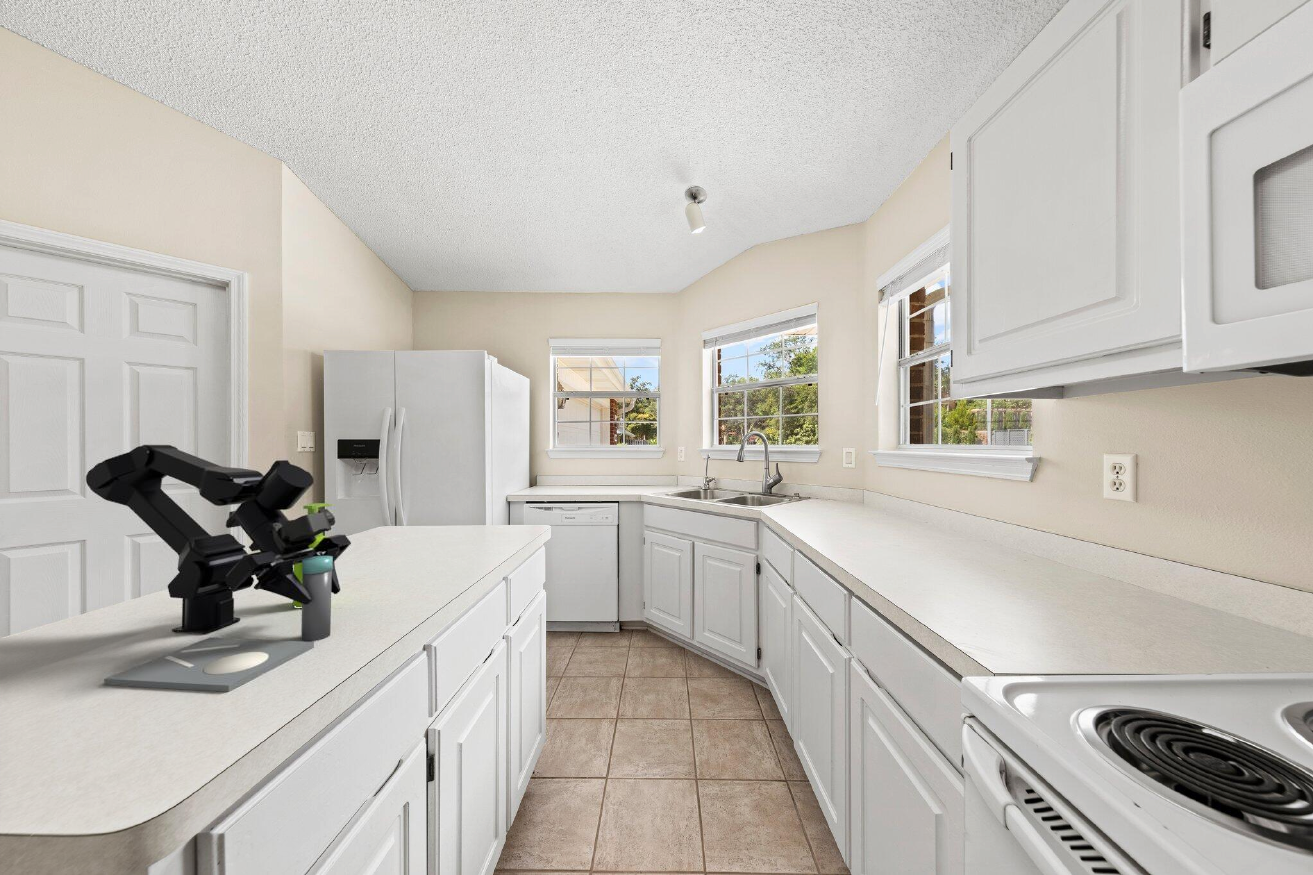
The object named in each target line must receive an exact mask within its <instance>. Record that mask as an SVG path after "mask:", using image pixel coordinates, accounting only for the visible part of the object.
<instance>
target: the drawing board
mask: <svg viewBox="0 0 1313 875" xmlns="http://www.w3.org/2000/svg"><path fill="white" fill-rule="evenodd" d="M313 648H315V641H309V642H306V641H299V640H298V641H296V640H276V639H275V640H274V639H273V640H272V639H252V638H251V639H250V638H234V637H233V638H229V637H211V636H210V637H207V638H205V639H202V640H199V641H197V642H195V643H192V644H189V645H186V646H184V647H182V648H179V649H177V650H174V651H170V652H169V653H166V654H164V655H161V656H158V657H157V658H154V659H151V660H148V661H146V662H143V663H140V664H138V665H136V666H133V667H131V668H128V669H125V670H123V671H120V672H118V673H115V674H113V675H110V676H107V677H105V678H103V685H104V686H120V687H136V688H137V687H139V688H140V687H141V688H154V689H155V688H156V689H157V688H158V689H169V690H170V689H173V690H175V689H176V690H188V691H189V690H191V691H209V692H226V693H228V692H231V691H233V690H235V689H237V688H239V687H240V686H243V685H245V684H246V683H249V682H250V681H252V680H254V679H256V678H258V677H259V676H262V675H263V674H266V673H267V672H270V671H271V670H273V669H275V668H277V667H279V666H281V665H283V664H285V663H287V662H288V661H291V660H293V659H294V658H297V657H298V656H300V655H302V654H304V653H306V652H308V651H309V650H312V649H313Z"/></svg>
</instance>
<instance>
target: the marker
mask: <svg viewBox="0 0 1313 875" xmlns="http://www.w3.org/2000/svg"><path fill="white" fill-rule="evenodd" d="M332 566H333V557H332V556H315V557H309V558H305V559H303V560H302V573H303V577H302V585H303V586H304V588H305V589H306V590H307V592H308V594H309V595H310V597H311V599H312V601H311V602H310V603H309V604H307V605H305V604H302V609H301V627H300V628H301V630H300V633H301V636H300V639H301V642H317V641H321V640H324V639H327V638H329V637H330V636H331V629H332V627H331V623H332V621H331V618H332V592H331V580H332ZM316 640H317V641H316Z"/></svg>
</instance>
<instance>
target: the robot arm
mask: <svg viewBox="0 0 1313 875" xmlns="http://www.w3.org/2000/svg"><path fill="white" fill-rule="evenodd" d="M167 476H168V477H170V478H173V479H175V480H177V481H180V482H182V483H185V484H188V485H190V486H192V487H195V488H196V489H197V490H198V492H199V496H201V498H202V499H203V498H204V500H206V501H208V502H209V503H210V504H212V505H214V506H217V507H222V506H230V505H231V506H233V505H239V506H237V508H236V509H235V510H233V511H229V513H228V517H227V520H226V522H225V528H227V529H229V528H236V527H240V528H241V529H242V530H243V531H244V533H245V535H247V537H248V538H249V539H250V540H251V541H252V543H251V544H250V545H249V546H248V548H249V549H250V551H251V553H248V552H247V551H246V550H245V548H246V544H245V545H244V544H242V543H240V542H239V541H238V540H237V539H236V538H235V536H234V535H233V534H231V533H225V534H224V533H223V534H217V535H211V534H210V533H208V532H207V531H206V529H204V528H203V527H202V526H201V525H200V524H199V523H198V522H197V520H194V519H193V518H192V516H190V515H189V514H188V513H187V512H186V511H185V510H184V509H183V508H182V507H181V506H180V505H179V504H178V503H176V502H175V501H174V500H173V499H172V498H171V497H170V496H169V495H168V494H167V493H165V491H164V490H163V489H162V483H163V479H164V478H165V477H167ZM85 483H86V485H87V486H88V487H89V489H90V490H91V491H92V492H93V493H94V494H96V495H97V496H98V497H101V499H103V500H105V501H107V502H112V503H114V504H117V505H118V504H119V505H122V506H125V507H127V508H129V509H130V510H131V511H132V512H133V513H134V514H135V515H136V516H138V517H139V519H141V520H142V521H143V523H144V524H146V525H147V526H148V527H149V528H150V529H151V530H152V531H153V532H154V533H156V535H157V536H158V537H159V538H161V540H163V542H164V543H166V544H167V545H168V546H169V547H170V548H171V549H172V550H173V551H174V552H175V553H176V554H177V555H178V562H177V571H178V573H177V574H176V576H174V577H173V579H172V580H171V581H170V582H169V584H167V590H168V591H167V592H168V594H169V597H170V598H173V599H175V598H176V599H182V604H181V605H182V606H181V610H182V611H181V625H180V626H177V627H174V628H173V629H171V632H172V633H179V634H180V633H183V634H184V633H185V634H186V633H187V634H204V635H205V634H209V633H210V632H213V631H217V630H218V629H222V628H224V627H227V626H229V625H233V624H235V623H237V622H240V621H241V617H238V616H237V617H234V616H235V615H234V614H235V598H234V597H233V594H234V593H235V592H239V591H241V590H246V589H249V588H251V587H252V586H253V584H254V583H255V579H254V577H253V576H255V577H256V580H257V583H256V584H254V586H253V589H254V590H262V591H266V592H269V593H271V594H276V595H279V596H281V597H285V598H287V599H290V600H292V601H293V600H294V601H297V602H300V603H302V604H305V605H307V604H309V603H310V602H311V601H312V599H311V597H310V595H309V594H308V592H307V590H306V589H305V588H304V586H303V585H302V584H301V582H300V581H299V579H298V578H297V577H296V575H295V574H294V565H295V564H299V563H302V560H303V559H305V558H309V557H315V556H332V557H333V566H332V580H331V594H334V595H337V594H338V593H340V591H341V586H340V582H339V578H338V574H337V570H336V566H335V562H336V561H337V559H338V558H339V557H340V556H341V555H342V554H343V553H344V552H345V551H346V550H347V549H348V548H349V546H351V545H352V542H351V541H350V540H349V538H348V537H347V535H345V534H334V535H331V536H329V537H325V538H323V539H322V540H321V541H320V542H319V544H318V545H317V546H316V547H315V548H310V547H309V545H310V544H313V543H314V542H315V541H316V538H315V536H316V535H318V534H320V533H322V532H323V533H324V532H328V531H331V530H332V527H333V526H334V525H335V524H336V518H335V516H334V514H333V513H331V512H330V511H329V510H328V508H325V509H318V512H316V513H313V514H308V513H307V514H305V515H301V516H300V517H297V518H295V519H291V520H290V519H289V518H288V517H287V516H286V514H284V512H283V511H286V510H290V509H292V508H293V507H294V506H295V505H296V503H298V501H299V500H300V499H301V498H302V497H303V496H304V495H305V493H306V492H307V491H308V490H309V489H310V488H311V487H312V486H313V484H314V477H313V475H312V474H311V473H310V472H309V471H307V470H305V469H303V468H302V467H300V466H297V465H295V464H291V463H290V462H289V460H288V459H283V460H280V459H279V460H275V462H273V464H271V466H270V468H269V470H268V471H267V472H266V473H265V474H262V472H260V471H259V470H256V469H255V470H254V469H247V468H239V467H227V466H222V465H219V464H216V463H213V462H211V461H209V460H206V459H203V458H200V457H198V456H196V455H193V454H191V453H188V452H186V451H183V450H180V449H178V448H177V446H173V445H170V444H142V445H139V446H136V447H135V448H133V449H132V450H130V451H128V452H125V453H122V454H118V455H116V456H113V457H110V458H107V459H105V460H103V461H101V462H98V463H97V464H95V465H94V466H93V467H92V468H90V470H89V471H88V472H87V473H86V476H85ZM309 548H310V549H309ZM253 552H254V553H253Z"/></svg>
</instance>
